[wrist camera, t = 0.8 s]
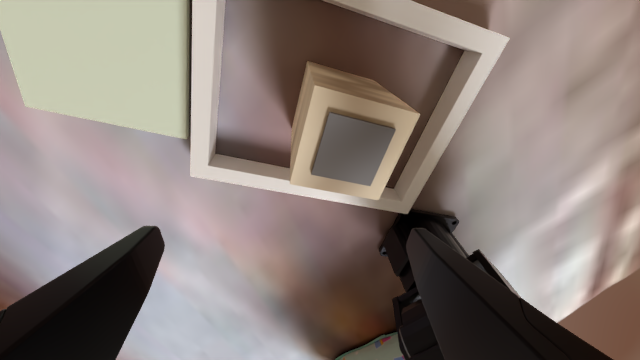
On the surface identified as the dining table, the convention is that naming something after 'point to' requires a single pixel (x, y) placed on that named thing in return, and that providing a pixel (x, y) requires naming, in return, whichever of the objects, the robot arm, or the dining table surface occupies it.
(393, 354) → the lunch box
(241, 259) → the dining table surface
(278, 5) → the dining table surface
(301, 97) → the birch parts box
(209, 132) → the white rectangular frame
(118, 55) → the sage pad
